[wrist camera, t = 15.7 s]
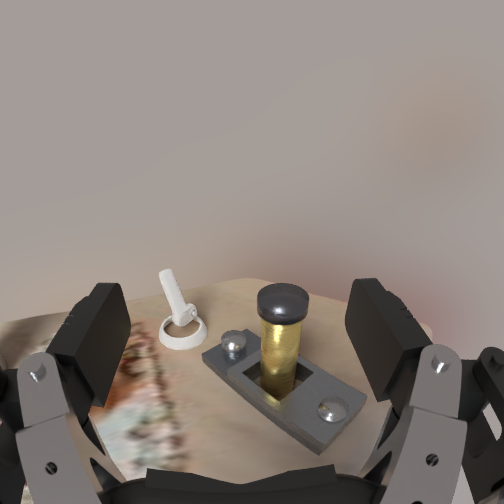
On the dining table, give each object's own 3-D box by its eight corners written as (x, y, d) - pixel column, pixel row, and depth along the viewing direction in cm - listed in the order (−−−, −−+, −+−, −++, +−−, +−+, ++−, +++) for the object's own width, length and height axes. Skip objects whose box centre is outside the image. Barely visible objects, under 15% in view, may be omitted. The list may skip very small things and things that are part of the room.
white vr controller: (163, 276, 47) (188, 261, 44) (192, 340, 47) (220, 332, 43) (129, 287, 41) (152, 272, 37) (161, 358, 40) (189, 352, 37)
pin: (248, 388, 32) (246, 296, 26) (276, 369, 35) (281, 278, 29) (276, 410, 29) (285, 319, 23) (303, 388, 32) (319, 296, 26)
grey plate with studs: (202, 361, 37) (199, 343, 35) (246, 336, 41) (246, 318, 40) (318, 455, 23) (325, 442, 22) (360, 410, 28) (368, 394, 27)
